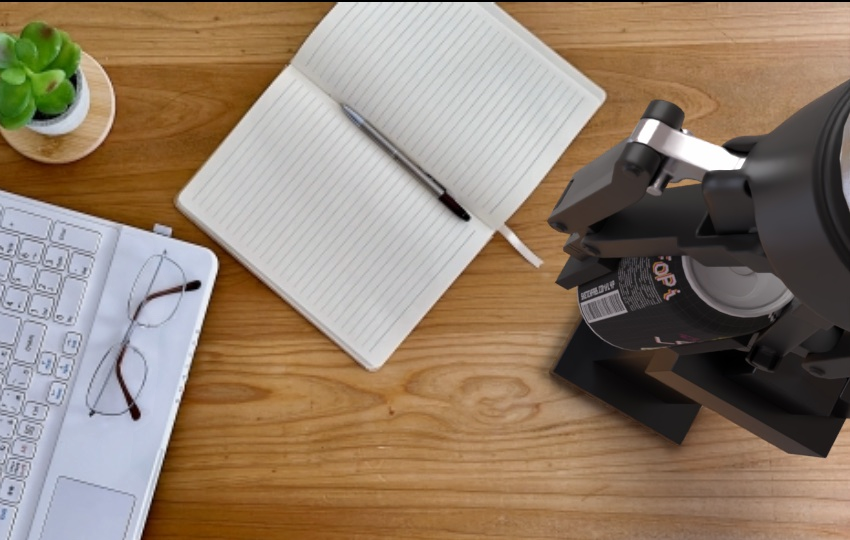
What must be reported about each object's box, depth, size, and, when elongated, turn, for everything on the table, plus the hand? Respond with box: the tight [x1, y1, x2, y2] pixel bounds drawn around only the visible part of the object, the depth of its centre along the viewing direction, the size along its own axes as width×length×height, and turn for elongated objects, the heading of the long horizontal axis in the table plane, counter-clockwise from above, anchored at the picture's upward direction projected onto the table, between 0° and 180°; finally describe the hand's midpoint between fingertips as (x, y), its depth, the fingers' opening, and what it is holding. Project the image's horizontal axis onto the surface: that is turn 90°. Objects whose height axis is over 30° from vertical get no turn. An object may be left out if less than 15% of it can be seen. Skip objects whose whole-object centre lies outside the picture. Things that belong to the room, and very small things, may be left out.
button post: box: [548, 313, 850, 459], centre depth 61 cm, size 12×12×26 cm
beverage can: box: [576, 256, 794, 351], centre depth 38 cm, size 6×6×12 cm
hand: (630, 296), depth 44 cm, fingers closed on beverage can, 6 cm apart
